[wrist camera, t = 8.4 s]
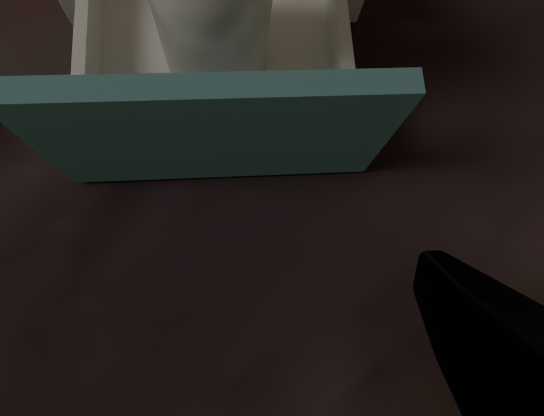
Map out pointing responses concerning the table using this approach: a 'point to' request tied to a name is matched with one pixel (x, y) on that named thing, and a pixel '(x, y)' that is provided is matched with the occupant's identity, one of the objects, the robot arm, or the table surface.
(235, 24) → the salt jar
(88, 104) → the white and teal drawer
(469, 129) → the table surface
